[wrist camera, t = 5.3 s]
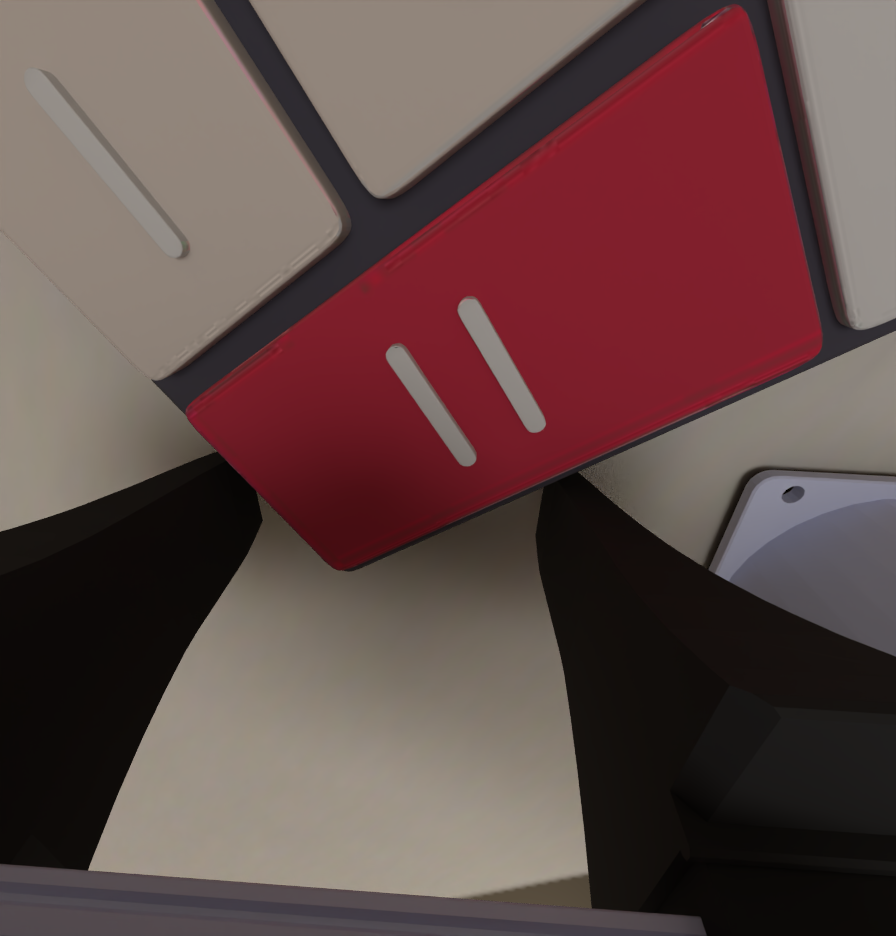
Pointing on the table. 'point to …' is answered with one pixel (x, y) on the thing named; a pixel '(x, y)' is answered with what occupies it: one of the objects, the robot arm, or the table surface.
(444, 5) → the big button panel
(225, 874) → the table surface
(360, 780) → the table surface
